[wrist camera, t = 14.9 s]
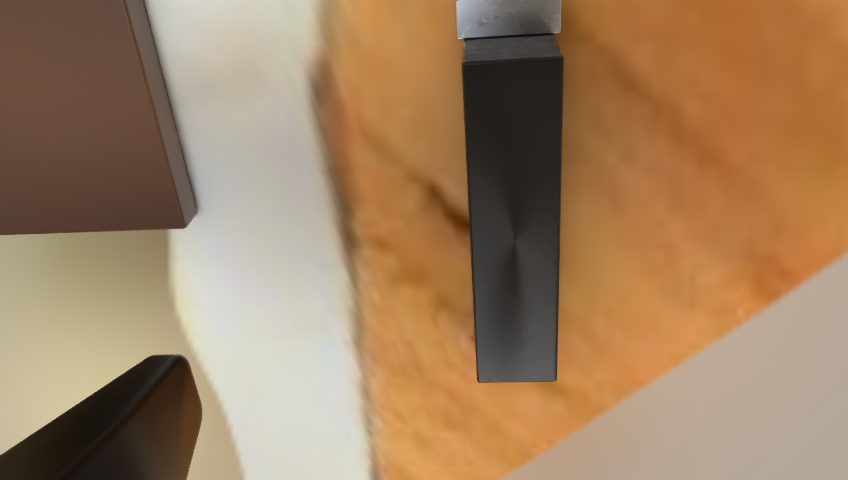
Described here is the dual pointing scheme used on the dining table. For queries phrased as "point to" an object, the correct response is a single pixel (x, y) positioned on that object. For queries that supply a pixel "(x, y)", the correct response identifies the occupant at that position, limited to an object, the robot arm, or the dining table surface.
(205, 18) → the dining table surface
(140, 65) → the board
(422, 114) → the dining table surface
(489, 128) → the knife
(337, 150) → the dining table surface
